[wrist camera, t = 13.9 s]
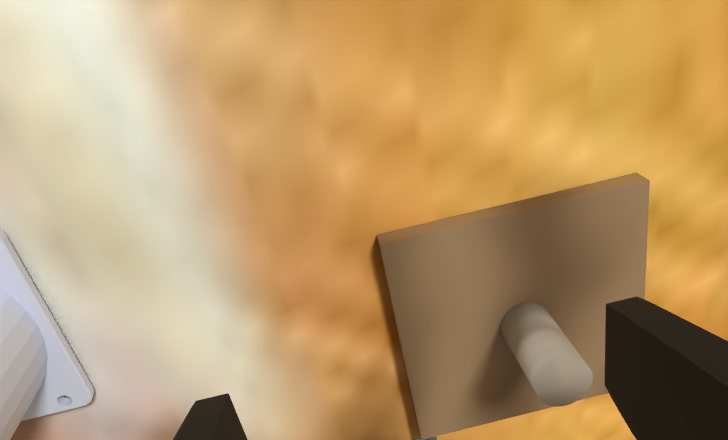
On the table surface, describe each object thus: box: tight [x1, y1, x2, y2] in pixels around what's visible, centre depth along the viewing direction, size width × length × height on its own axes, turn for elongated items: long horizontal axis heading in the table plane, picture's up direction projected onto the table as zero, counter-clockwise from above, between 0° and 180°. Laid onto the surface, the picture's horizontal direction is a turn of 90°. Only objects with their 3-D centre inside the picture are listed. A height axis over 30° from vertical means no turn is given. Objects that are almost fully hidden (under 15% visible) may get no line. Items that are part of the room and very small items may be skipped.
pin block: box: [377, 173, 650, 440], centre depth 20 cm, size 10×10×4 cm
